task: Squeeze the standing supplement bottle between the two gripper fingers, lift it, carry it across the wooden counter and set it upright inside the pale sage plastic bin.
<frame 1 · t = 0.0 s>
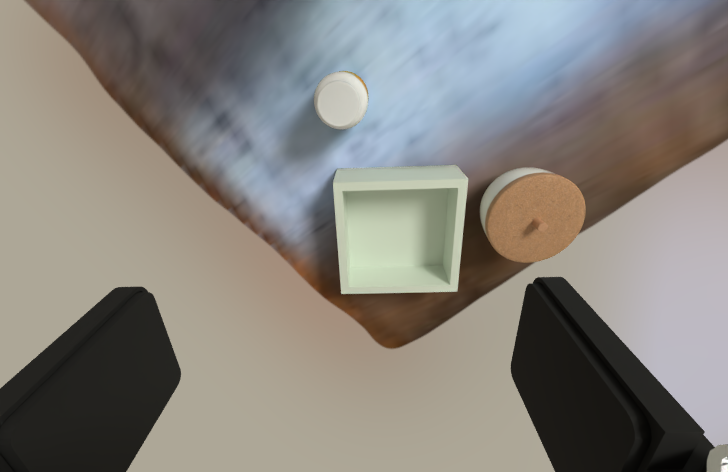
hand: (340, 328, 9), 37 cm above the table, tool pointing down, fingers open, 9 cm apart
supplement bottle: (345, 96, 41), on the table
lidded jar: (510, 197, 46), on the table
bin: (396, 221, 48), on the table
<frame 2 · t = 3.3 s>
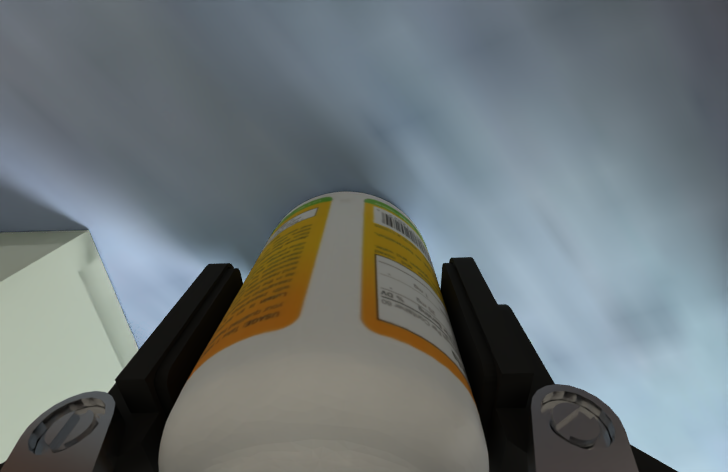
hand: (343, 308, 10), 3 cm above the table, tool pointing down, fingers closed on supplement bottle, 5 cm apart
supplement bottle: (348, 260, 12), on the table, touching gripper
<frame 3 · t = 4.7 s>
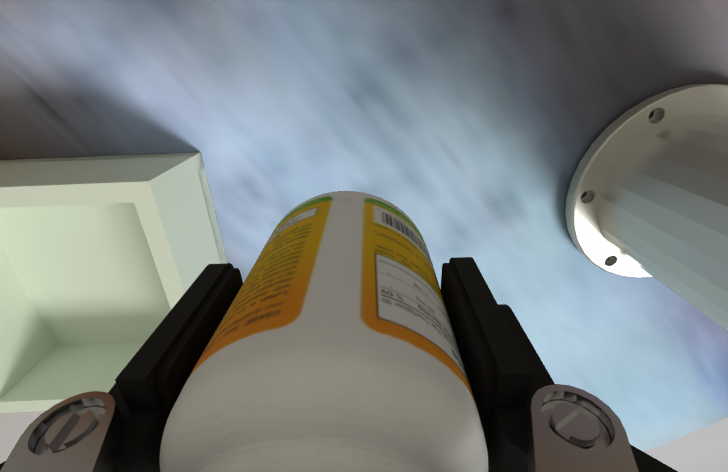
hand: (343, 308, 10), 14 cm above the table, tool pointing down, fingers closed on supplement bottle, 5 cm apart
supplement bottle: (348, 259, 12), point 11 cm above the table, touching gripper
bin: (120, 262, 25), on the table
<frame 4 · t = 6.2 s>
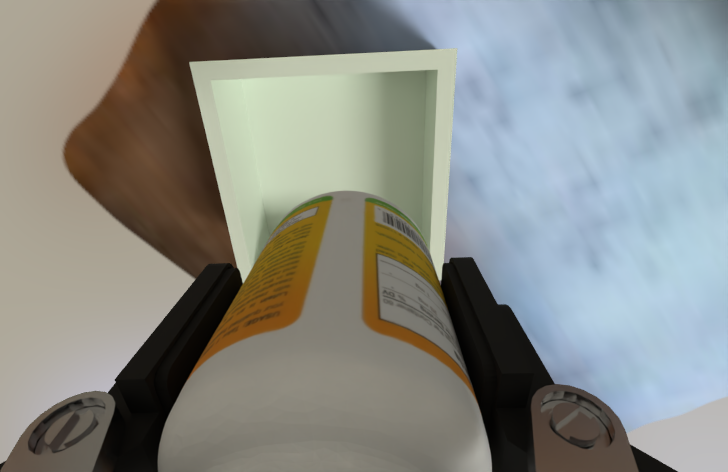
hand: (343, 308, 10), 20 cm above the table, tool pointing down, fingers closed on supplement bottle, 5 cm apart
supplement bottle: (349, 259, 12), point 17 cm above the table, touching gripper
bin: (340, 161, 28), on the table
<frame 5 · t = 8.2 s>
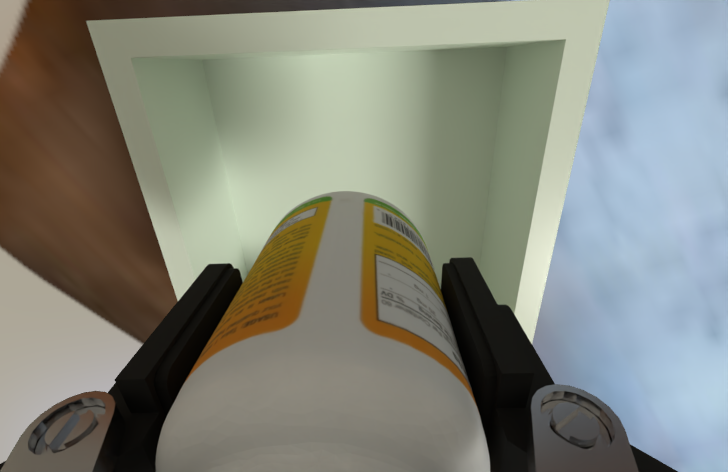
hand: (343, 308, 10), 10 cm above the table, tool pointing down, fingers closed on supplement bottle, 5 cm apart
supplement bottle: (348, 260, 12), point 7 cm above the table, touching gripper
bin: (359, 191, 19), on the table
when the fingers open (5 cm above the table, at t = 9.5 s): supplement bottle drops 2 cm, resting on bin.
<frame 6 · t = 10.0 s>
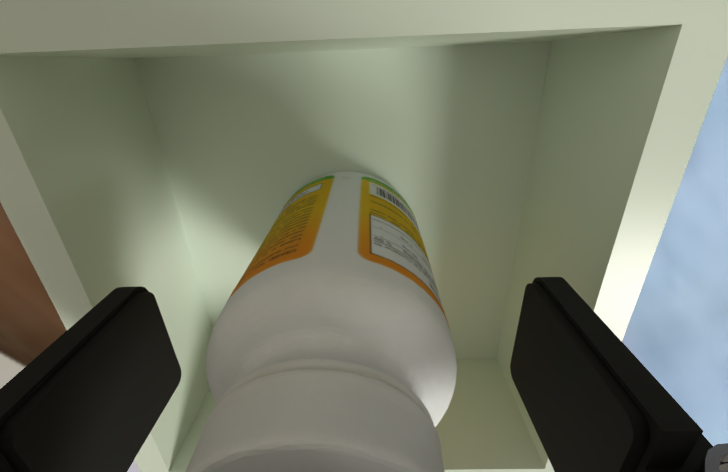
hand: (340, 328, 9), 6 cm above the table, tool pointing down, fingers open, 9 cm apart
supplement bottle: (348, 233, 14), point 1 cm above the table, touching bin
bin: (351, 226, 15), on the table
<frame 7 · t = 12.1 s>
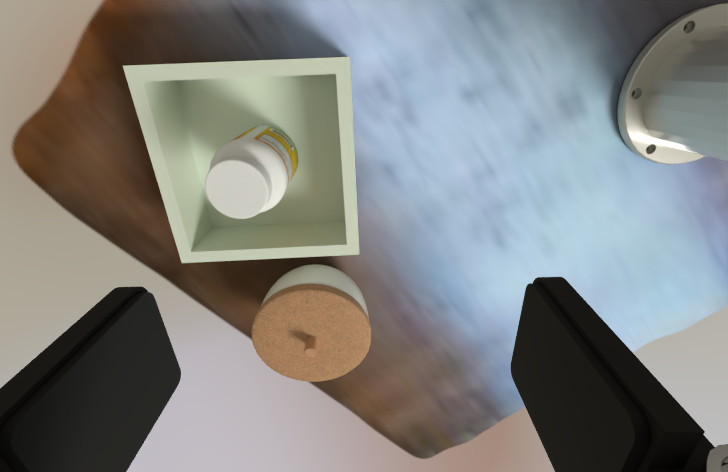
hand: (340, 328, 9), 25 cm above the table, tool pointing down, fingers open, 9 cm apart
supplement bottle: (269, 155, 31), point 1 cm above the table, touching bin
lidded jar: (318, 289, 39), on the table
bin: (272, 154, 32), on the table
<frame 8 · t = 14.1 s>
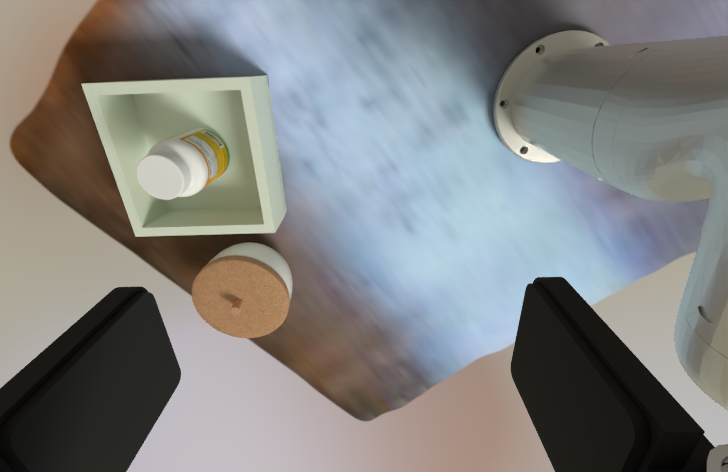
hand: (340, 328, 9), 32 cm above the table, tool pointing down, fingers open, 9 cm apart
supplement bottle: (208, 152, 39), point 1 cm above the table, touching bin
lidded jar: (259, 265, 46), on the table
bin: (211, 151, 39), on the table
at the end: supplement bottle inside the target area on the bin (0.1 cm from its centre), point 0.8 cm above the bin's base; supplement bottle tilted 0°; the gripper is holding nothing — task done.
